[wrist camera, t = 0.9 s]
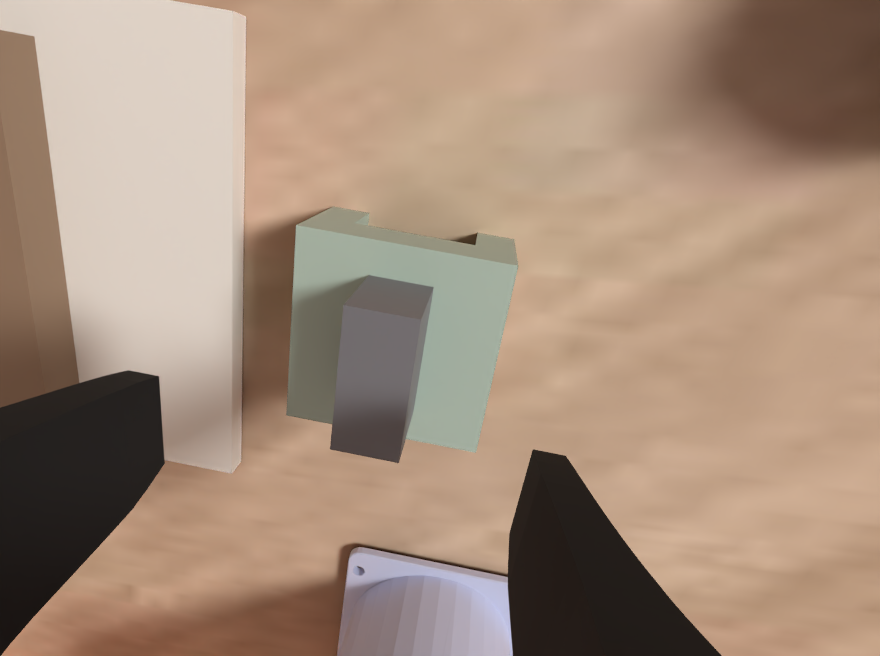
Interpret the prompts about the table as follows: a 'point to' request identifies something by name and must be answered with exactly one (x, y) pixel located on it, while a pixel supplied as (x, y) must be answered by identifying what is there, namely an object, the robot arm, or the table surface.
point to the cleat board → (126, 208)
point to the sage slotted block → (395, 333)
